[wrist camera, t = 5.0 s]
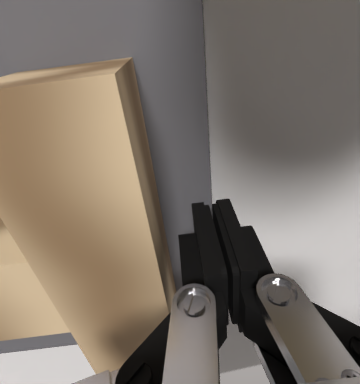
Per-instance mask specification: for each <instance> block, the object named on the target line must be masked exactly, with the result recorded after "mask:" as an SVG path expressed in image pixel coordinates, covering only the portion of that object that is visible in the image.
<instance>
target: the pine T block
mask: <svg viewBox="0 0 360 384" xmlns="http://www.w3.org/2000/svg"><path fill="white" fill-rule="evenodd" d="M175 293H176V287H175V282H174V277H173V271H172V266H171V261H170V255H169V250H168V245H167V239H166V234H165V229H164V223H163V218H162V213H161V207H160V202H159V197H158V191H157V186H156V181H155V175H154V170H153V165H152V159H151V154H150V149H149V143H148V138H147V133H146V127H145V122H144V117H143V111H142V106H141V101H140V95H139V90H138V85H137V79H136V74H135V68H134V63H133V58H132V57H130V58H122V59H115V60H107V61H99V62H92V63H84V64H77V65H69V66H62V67H54V68H46V69H39V70H31V71H24V72H16V73H13V74H9V75H6V76H3V77H0V341H5V340H13V339H21V338H29V337H37V336H45V335H53V334H61V333H69V332H71V334H72V336H73V337H74V339H75V340H76V342H77V344H78V345H79V347H80V349H81V350H82V352H83V353H84V355H85V357H86V358H87V360H88V362H89V363H90V365H91V367H92V368H93V370H94V371H95V373H96V374H98V373H101V372H104V371H106V370H109V371H110V372H112V371H114V370H117V369H119V368H121V366H122V365H123V364H124V362H125V361H126V360H127V359H128V358H129V357H130V356H131V355H132V353H133V352H134V351H135V350H136V349H137V348H138V347H139V346H140V345H141V344H142V343H143V341H144V340H145V339H146V338H147V337H148V336H149V335H150V334H151V333H152V332H153V331H154V330H155V328H156V327H157V326H158V325H159V324H160V323H161V322H162V321H163V320H164V319H165V318H166V316H167V315H168V314H169V313H170V312H171V307H172V300H173V297H174V295H175Z"/></svg>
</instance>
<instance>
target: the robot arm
mask: <svg viewBox="0 0 360 384" xmlns="http://www.w3.org/2000/svg"><path fill="white" fill-rule="evenodd" d="M191 204H192V214H193V224H194V233H189V234H181V235H178V238H179V250H180V262H181V274H182V286H183V287H181V288H180V289H179V290H178V291H177V292H176V293H175V295H174V297H173V300H172V307H171V312H170V313H169V314H168V315H167V316H166V318H165V319H164V320H163V321H162V322H161V323H160V324H159V325H158V326H157V327H156V328H155V330H154V331H153V332H152V333H151V334H150V335H149V336H148V337H147V338H146V339H145V340H144V341H143V343H142V344H141V345H140V346H139V347H138V348H137V349H136V350H135V351H134V352H133V353H132V355H131V356H130V357H129V358H128V359H127V360H126V361H125V362H124V364H123V365H122V366H121V368H119V369H117V370H114V371H112V372H110V371H109V370H106V371H104V372H101V373H98V374H96V375H93V376H91V377H88V378H85V379H83V380H80V381H78V382H75V383H72V384H220V373H219V348H220V347H221V346H222V344H223V343H224V341H225V340H226V338H227V325H228V324H229V322H228V309H229V313H230V317H231V321H232V324H238V328H239V332H243V333H244V336H246V337H247V338H248V339H250V340H251V341H253V345H254V348H255V350H256V353H257V355H258V357H259V359H260V362H261V364H262V366H263V368H264V370H265V373H266V375H267V377H268V379H269V382H270V384H360V327H359V326H357V325H355V324H353V323H352V322H350V321H348V320H346V319H344V318H342V317H340V316H338V315H336V314H334V313H332V312H330V311H328V310H326V309H324V308H322V307H320V306H318V305H317V304H315V303H313V302H311V301H310V300H309V298H308V297H307V296H306V294H305V293H304V292H303V290H302V289H301V287H300V286H299V285H298V284H297V283H296V282H295V281H294V280H293V279H291V278H289V277H288V276H285V275H282V274H276V273H274V272H273V269H272V267H271V265H270V263H269V261H268V259H267V257H266V254H265V252H264V250H263V248H262V246H261V244H260V242H259V239H258V237H257V235H256V233H255V231H254V229H253V227H252V226H244V227H241V226H240V224H239V221H238V219H237V216H236V214H235V211H234V209H233V207H232V204H231V202H230V199H222V200H217V201H216V204H212V212H213V218H212V214H211V211H210V207H209V205H204V202H199V203H191Z"/></svg>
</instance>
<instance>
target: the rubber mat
mask: <svg viewBox="0 0 360 384" xmlns="http://www.w3.org/2000/svg"><path fill="white" fill-rule="evenodd" d="M130 57H132V58H133V63H134V68H135V74H136V79H137V85H138V90H139V95H140V101H141V106H142V111H143V117H144V122H145V127H146V133H147V138H148V143H149V149H150V154H151V159H152V165H153V170H154V175H155V181H156V186H157V191H158V197H159V202H160V207H161V213H162V218H163V223H164V229H165V234H166V239H167V245H168V250H169V255H170V261H171V266H172V271H173V277H174V282H175V287H176V292H177V291H178V290H179V289H180V288H181V287H183V286H182V274H181V262H180V250H179V238H178V235H181V234H189V233H194V224H193V214H192V204H191V203H199V202H204V205H209V207H210V211H211V214H212V193H211V173H210V152H209V131H208V110H207V90H206V69H205V48H204V27H203V7H202V0H0V77H3V76H6V75H9V74H13V73H16V72H24V71H31V70H39V69H46V68H54V67H62V66H69V65H77V64H84V63H92V62H99V61H107V60H115V59H122V58H130ZM212 218H213V214H212ZM76 344H77V342H76V340H75V339H74V337H73V336H72V334H71V332H69V333H61V334H53V335H45V336H37V337H29V338H21V339H13V340H5V341H0V354H1V353H9V352H18V351H26V350H34V349H42V348H51V347H59V346H67V345H76Z"/></svg>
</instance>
